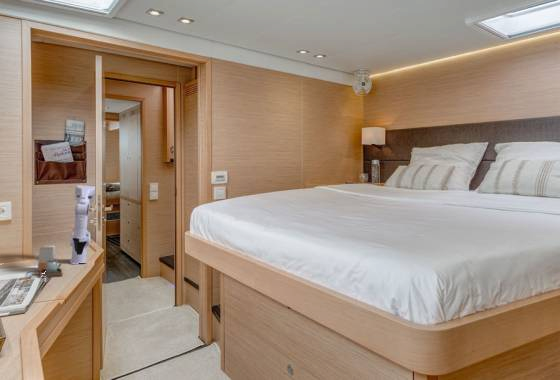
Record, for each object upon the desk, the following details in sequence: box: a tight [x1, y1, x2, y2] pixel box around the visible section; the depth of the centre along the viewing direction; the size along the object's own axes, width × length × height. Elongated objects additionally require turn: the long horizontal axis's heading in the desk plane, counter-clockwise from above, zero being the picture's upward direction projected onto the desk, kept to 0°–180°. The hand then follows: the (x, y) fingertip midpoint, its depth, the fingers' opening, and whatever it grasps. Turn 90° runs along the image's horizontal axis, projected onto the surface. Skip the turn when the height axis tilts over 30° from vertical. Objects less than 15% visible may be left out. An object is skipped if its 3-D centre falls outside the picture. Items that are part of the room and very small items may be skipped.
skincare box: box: [37, 245, 56, 271], centre depth 186 cm, size 6×4×12 cm
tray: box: [39, 267, 64, 278], centre depth 178 cm, size 9×9×2 cm
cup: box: [45, 259, 59, 274], centre depth 178 cm, size 5×5×6 cm
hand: (78, 252), depth 186 cm, fingers open, 7 cm apart
